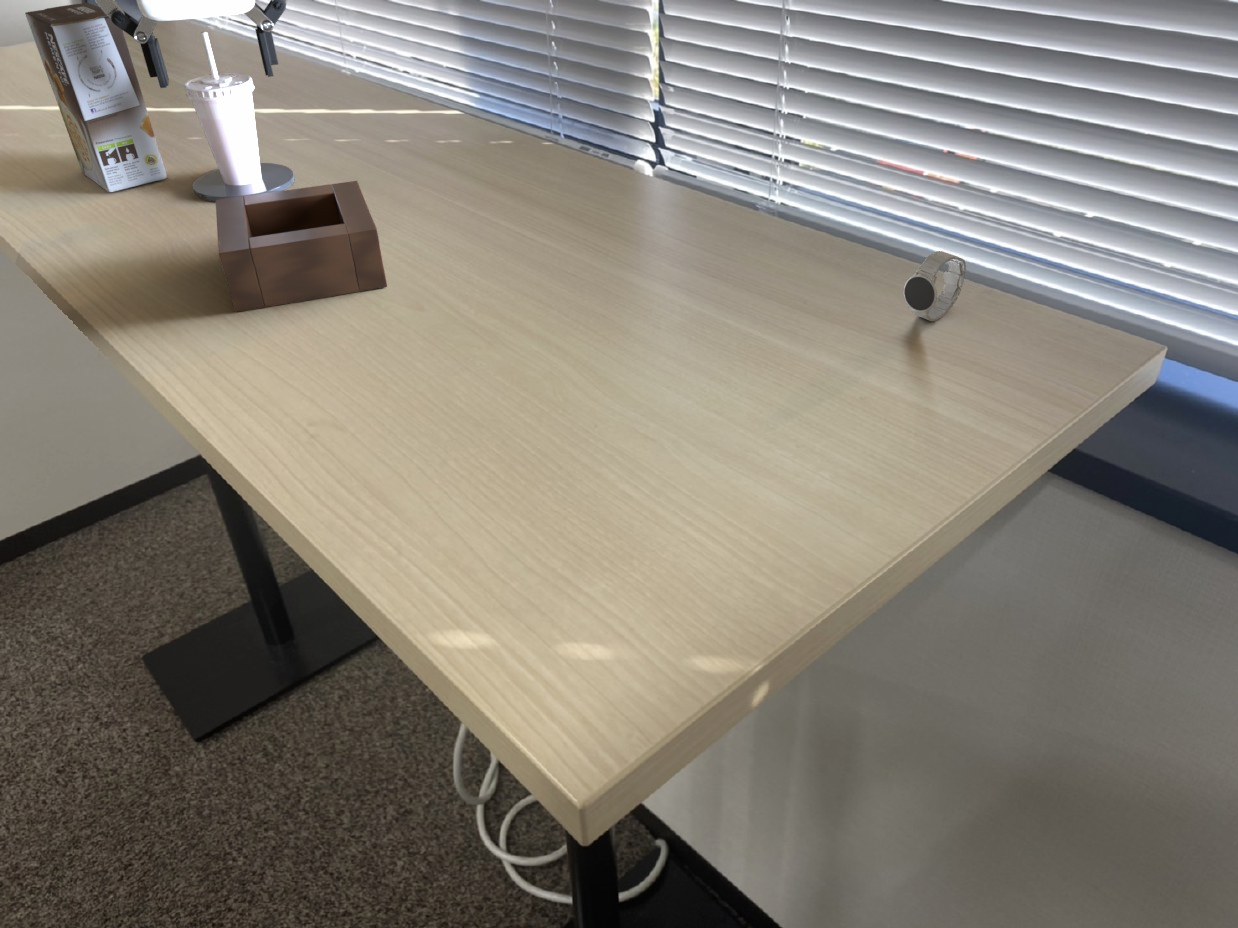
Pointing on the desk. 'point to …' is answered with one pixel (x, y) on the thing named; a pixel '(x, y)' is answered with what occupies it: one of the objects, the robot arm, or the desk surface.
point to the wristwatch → (924, 291)
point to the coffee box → (98, 95)
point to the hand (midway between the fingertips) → (217, 78)
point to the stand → (298, 245)
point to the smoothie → (227, 120)
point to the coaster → (216, 189)
